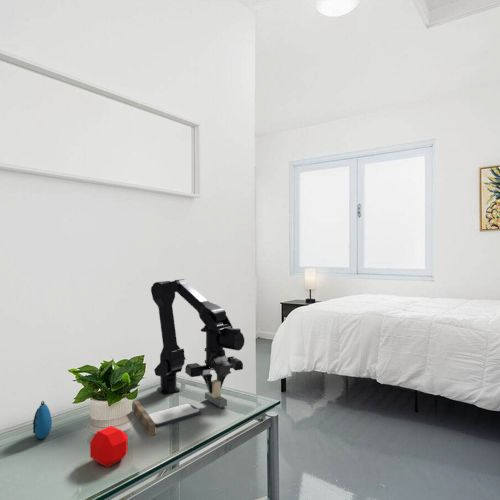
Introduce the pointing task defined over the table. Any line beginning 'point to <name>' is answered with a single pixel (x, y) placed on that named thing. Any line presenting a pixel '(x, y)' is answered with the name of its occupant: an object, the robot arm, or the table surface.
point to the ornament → (42, 421)
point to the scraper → (216, 394)
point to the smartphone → (174, 414)
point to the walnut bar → (144, 418)
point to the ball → (109, 446)
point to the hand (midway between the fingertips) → (214, 392)
